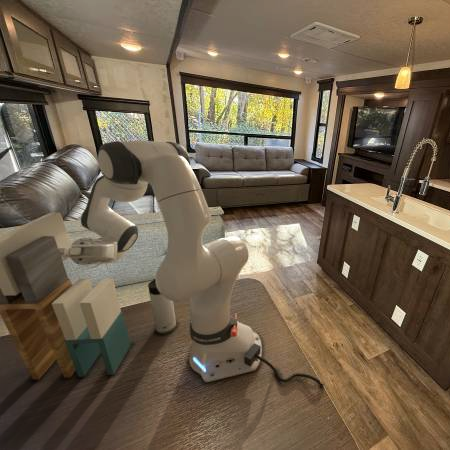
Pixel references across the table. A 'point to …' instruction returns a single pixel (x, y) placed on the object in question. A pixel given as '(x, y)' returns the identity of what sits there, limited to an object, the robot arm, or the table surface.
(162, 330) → the travel mug
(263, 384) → the table surface
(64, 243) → the white book
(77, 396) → the table surface
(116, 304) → the cream teal blocky piece
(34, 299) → the book stand
